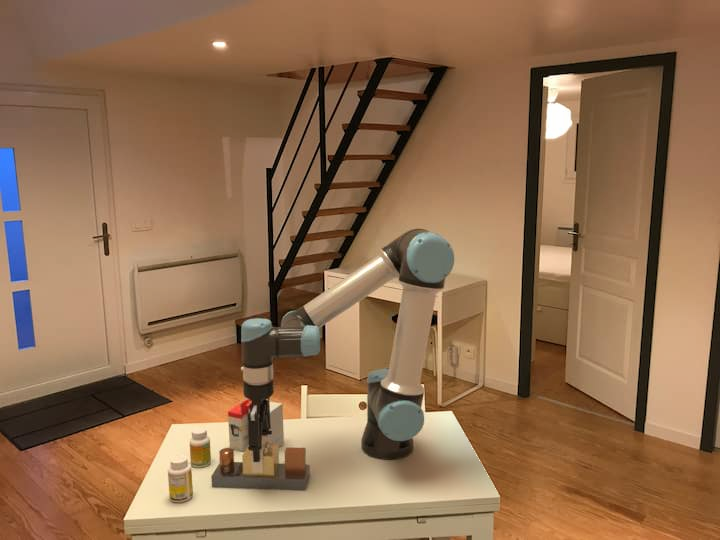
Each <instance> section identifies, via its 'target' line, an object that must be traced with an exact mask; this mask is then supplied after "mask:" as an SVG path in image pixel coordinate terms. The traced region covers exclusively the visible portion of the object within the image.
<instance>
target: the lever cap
mask: <svg viewBox="0 0 720 540" xmlns="http://www.w3.org/2000/svg"><path fill="white" fill-rule="evenodd" d="M248 447H249V445H248V446H247V448H246V450H244V451H243V454H242V457H241V459H242V461H241V462H243V476H267V477H274V476H275V473H276V471H277V469H278V466H279V464H280V454H279V451H280V447H279V446H278V445H271V443H270V442H266V443H265V445H262V447H263V468H264V472H263V473H252V451H249V449H248Z"/></svg>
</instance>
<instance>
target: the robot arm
mask: <svg viewBox="0 0 720 540" xmlns="http://www.w3.org/2000/svg"><path fill="white" fill-rule="evenodd" d="M454 265H455V252H454V250H453V248H452V246H451V244H450V242H449V241H447V240H446V238H445V237H443V236H442V235H440V234H439V233H435V232H432V231H429V230H428V229H424V228H412V229H409V230H407V231H405V232H404V233H402V234H401V235H400V236H398V237H396V238H395V239H394V240H392V241H390V243H388V244H387V245H385V246H383V247H382V248H381V249H380V250H379V254H378V255H377V256H376V257H374V258H372V259H371V260H369V261H368V262H366V263H365V264H364V265H362V266H361V267H359V268H358V269H357V270H354V271H353V272H352V273H351V274H349V275H347V276H345V278H342V280H339V281H338V282H337V283H335V284H333V285H332V286H330V287H329V288H328V289H327V290H325V291H323V292H322V293H321V294H319V295H317V296H316V297H314V298H313V299H312V300H310V301H309V302H307V303H306V304H304V305H302V306H301V307H300V308H298V309H297V310H291V311H288V312H287V313H286V314H285V315H283V317H282V320H281V321H280V322H281V323H280V326H273V325H272V324H273V323H272V321H271V320H270V319H268V318H260V317H259V318H256V317H255V318H250V319H246V320H245V321H243V323H242V324H241V326H240V327H241V331H240V334H241V339H240V341H241V342H240V343H241V359H242V360H241V361H242V363H241V364H242V366H241V367H240V371H241V372H242V378H243V379H242V380H243V383H242V384H243V386H242V389H243V396H244V397H245V398H246V399H250V400H251V401H250V402H251V404H250V412H248V414H247V416H248V429H249V447H248V449H249V451H252V473H263V472H264V468H263V447H262V445H265V443H266V442H269V436H267V435H272V431H269V429H270V428H271V423H270V403H269V402H271V401H270V400H271V399H270V397H272V396H273V394H274V391H275V390H274V380H273V378H274V362H273V361H274V360H273V359H274V358H284V357H285V358H286V357H287V358H288V357H289V358H290V357H293V358H294V357H309V356H316V355H319V353H320V351H321V334H320V328H321V327H323V326H325V325H326V324H328V323H329V322H331V321H332V320H334V319H335V318H337V317H338V316H339V315H341V314H343V313H344V312H346V311H348V310H349V309H350V308H352V307H353V306H354V305H357V303H359V302H361V301H362V300H364V299H365V298H366V297H368V296H370V295H371V294H372V293H374V292H375V291H377V290H378V289H380V288H382V287H383V286H384V285H386V284H388V283H389V282H391V281H392V280H394V279H398V282H399V283H400V285H401V286H402V292H401V293H402V294H401V298H400V305H399V311H398V317H397V321H396V327H395V333H394V338H393V345H392V350H391V356H390V360H389V361H390V362H389V367H388V368H380V369H374V370H372V371H370V372H369V373H368V374H367V379H366V385H367V386H366V387H367V388H366V391H367V392H366V393H367V396H366V398H367V401H366V402H367V403H366V404H367V405H366V406H367V408H366V409H367V412H366V413H367V414H366V415H367V416H366V417H367V419H366V420H367V421H366V425H365V428H364V430H363V433H362V436H361V447H360V448H361V450H362V452H363V453H364V454H366V455H367V456H369V457H372V458H375V459H378V460H379V459H380V460H395V459H396V460H397V459H401V458H405V457H407V456H409V455H410V454H411V453H413V451H414V437H415V436H417V435H418V434H419V433H420V432H421V430H423V427H424V424H425V414H424V410H423V409H422V407H423V406H422V405H423V400H424V395H425V388H424V386H423V385H422V383H421V378H422V373H423V369H424V362H425V356H426V353H427V352H426V351H427V347H428V341H429V335H430V331H431V325H432V319H433V315H434V308H435V303H436V298H437V294H438V293H440V292H441V291H443V290H444V288H445V283H446V278H447V277H448V276H449V275H450V274H451V272H452V270H453V268H454Z"/></svg>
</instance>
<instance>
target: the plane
mask: <svg viewBox="0 0 720 540" xmlns="http://www.w3.org/2000/svg"><path fill="white" fill-rule="evenodd" d="M234 453H235V450H234V449H232V448H230V447H224V448H222V449H220V450H219V453H218V454H219V464H218V465H217V466H216V468H215V469H214V471H213V473H211V477H210V478H211V487H212V488H228V489H229V488H232V489H233V488H234V489H250V490H251V489H252V490H253V489H255V490H278V489H280V490H283V491H304V492H305V491H306V488H307V485H308V482H309V479H310V475H311V472H310V469H311V467H310V464H308V463H307V458H306V457H307V451H306V447H294V446H293V447H290V446H289V447H285V450H284V463H279V466H278V469H277V471H276V473H275V476H274V477H267V476H243V461H235V454H234Z"/></svg>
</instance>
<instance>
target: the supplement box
mask: <svg viewBox="0 0 720 540" xmlns="http://www.w3.org/2000/svg"><path fill="white" fill-rule="evenodd" d="M269 403H270V423H271V428H270V429H269V431H272V435H267V436H269V442H270V443H271V445H278V446H279V448H281V447H282V446H283V445H284V444H285V435H284V433H285V431H284V408H283V407H284V405H283V403H282V402H281V403H280V402H275V401H270V402H269ZM248 410H249V412H250V408H249V409H248Z"/></svg>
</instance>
